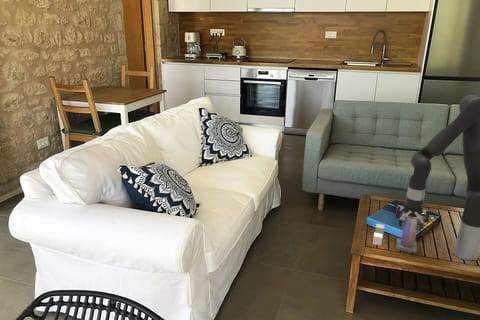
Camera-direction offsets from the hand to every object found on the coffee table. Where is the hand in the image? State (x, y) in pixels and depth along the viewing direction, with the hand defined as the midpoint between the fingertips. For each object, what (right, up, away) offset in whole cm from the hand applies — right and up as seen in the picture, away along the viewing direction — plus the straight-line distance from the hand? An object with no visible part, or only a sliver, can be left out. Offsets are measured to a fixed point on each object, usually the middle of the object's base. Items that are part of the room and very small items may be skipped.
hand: (410, 227), depth 185 cm
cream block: (-13, -9, +6) cm, 17 cm away
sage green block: (-9, -6, +15) cm, 19 cm away
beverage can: (0, -9, +3) cm, 10 cm away
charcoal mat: (0, -10, +4) cm, 11 cm away
